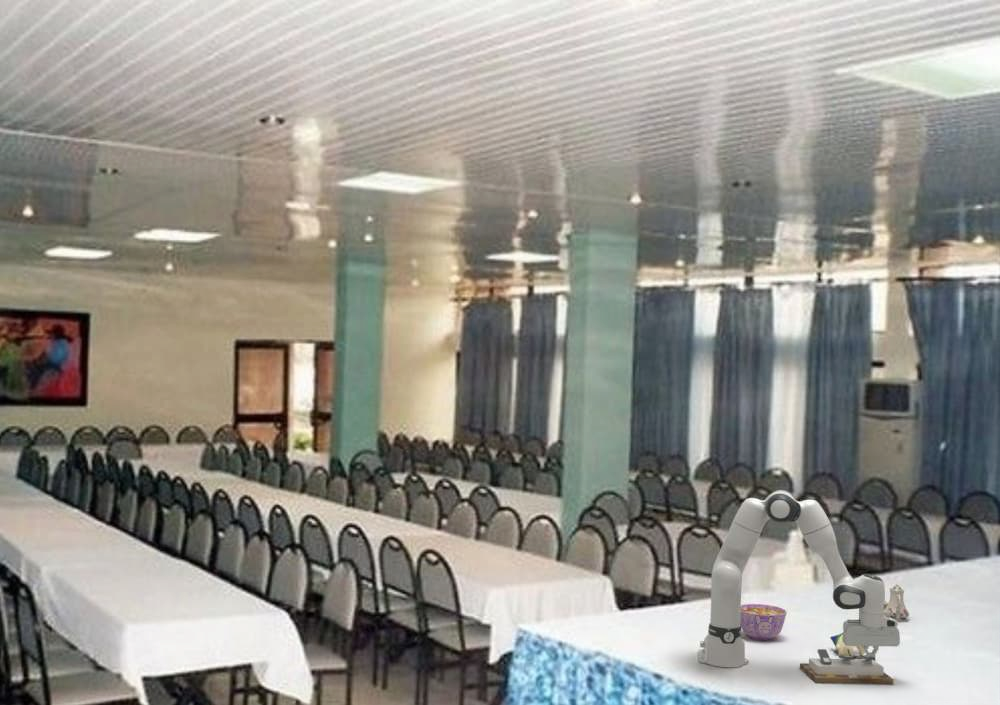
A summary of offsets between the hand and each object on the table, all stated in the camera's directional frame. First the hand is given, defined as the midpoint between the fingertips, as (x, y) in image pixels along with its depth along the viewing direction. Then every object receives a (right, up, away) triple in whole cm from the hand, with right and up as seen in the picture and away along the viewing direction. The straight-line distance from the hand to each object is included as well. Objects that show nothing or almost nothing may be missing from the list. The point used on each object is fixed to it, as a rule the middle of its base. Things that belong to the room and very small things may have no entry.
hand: (870, 657), depth 405 cm
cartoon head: (+1, -8, +31) cm, 32 cm away
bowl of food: (-27, -7, +54) cm, 61 cm away
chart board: (-9, -7, +2) cm, 11 cm away
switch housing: (-9, -5, +2) cm, 10 cm away
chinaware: (+40, -9, +95) cm, 103 cm away
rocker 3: (0, -1, +2) cm, 2 cm away
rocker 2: (-8, 0, +2) cm, 9 cm away
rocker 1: (-16, 0, +1) cm, 16 cm away
